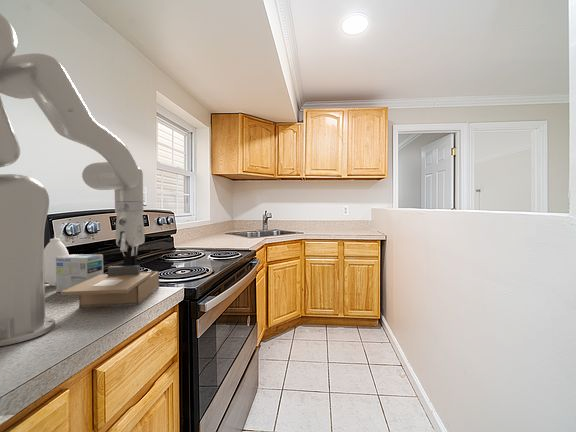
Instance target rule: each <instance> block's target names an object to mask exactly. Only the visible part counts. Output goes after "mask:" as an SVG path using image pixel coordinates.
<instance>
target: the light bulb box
mask: <svg viewBox="0 0 576 432" xmlns="http://www.w3.org/2000/svg"><path fill="white" fill-rule="evenodd" d="M100 274H104V254H83V253H81V254H78V253H77V254H76V253H75V254H74V253H73V254H69V255H66V256H59V257H56V286H55V287H56V289H55V292H56V293H61V292H62V291H64V290H66V289H68V288H71V287H73V286H75V285H78V284H80V283H82V282H84V281H87V280H89V279H91V278H93V277H96V276H98V275H100Z"/></svg>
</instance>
